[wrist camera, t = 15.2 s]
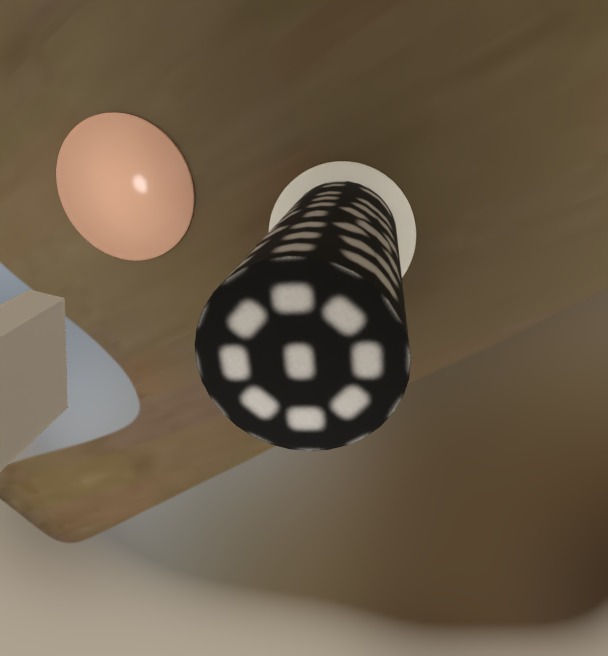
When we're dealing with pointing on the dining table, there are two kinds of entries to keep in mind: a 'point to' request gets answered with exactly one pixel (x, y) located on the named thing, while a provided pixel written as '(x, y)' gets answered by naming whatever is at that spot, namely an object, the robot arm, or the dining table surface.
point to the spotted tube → (311, 325)
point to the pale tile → (366, 178)
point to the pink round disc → (125, 186)
